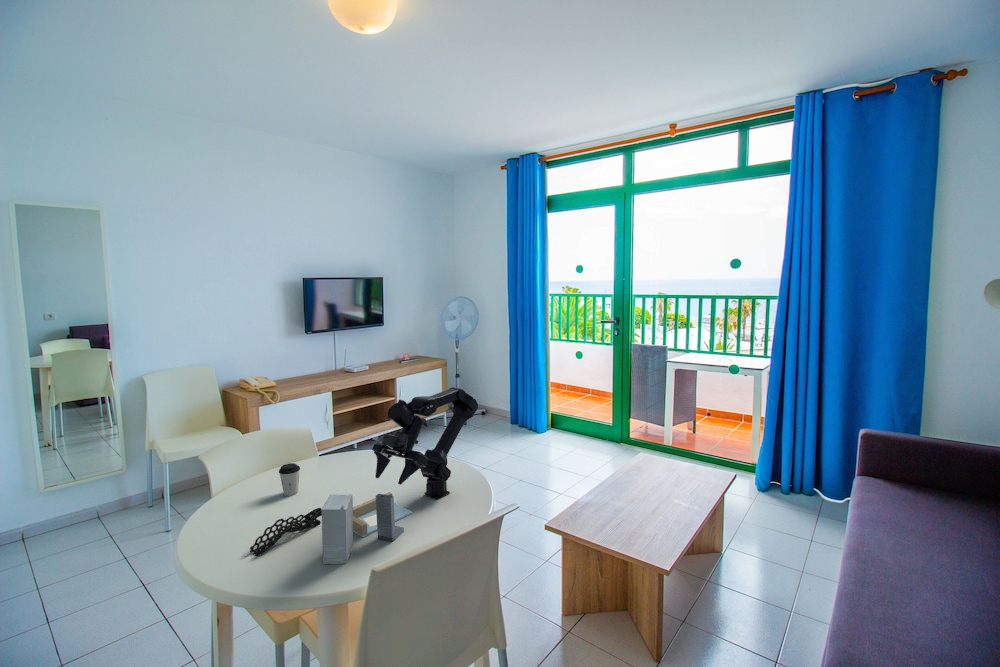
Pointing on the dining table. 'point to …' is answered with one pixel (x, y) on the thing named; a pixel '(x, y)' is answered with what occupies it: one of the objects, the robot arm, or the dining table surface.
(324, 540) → the skincare box
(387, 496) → the grey tall post
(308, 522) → the decorative element
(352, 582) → the dining table surface
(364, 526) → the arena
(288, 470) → the coffee cup
